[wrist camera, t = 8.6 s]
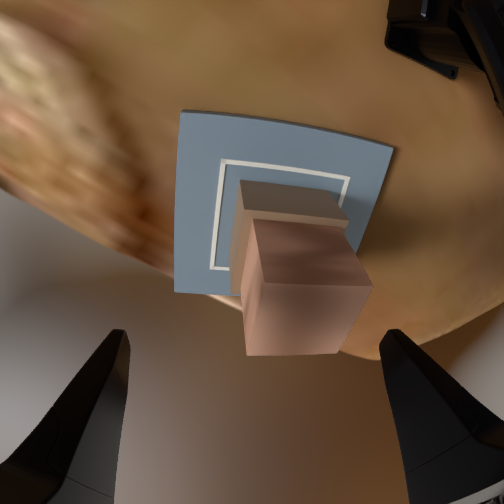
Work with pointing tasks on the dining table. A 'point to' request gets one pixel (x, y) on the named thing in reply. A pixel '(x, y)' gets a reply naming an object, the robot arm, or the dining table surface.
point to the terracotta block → (300, 288)
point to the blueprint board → (259, 147)
